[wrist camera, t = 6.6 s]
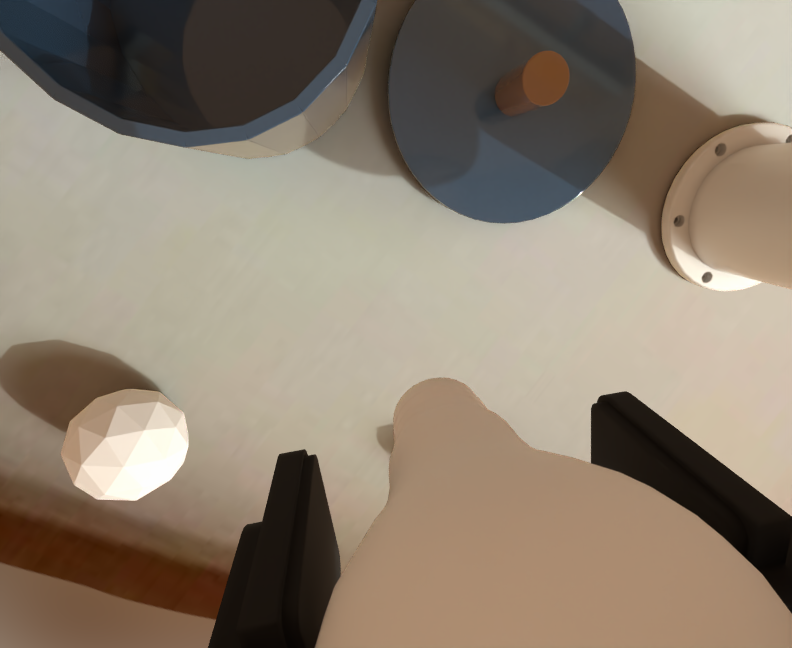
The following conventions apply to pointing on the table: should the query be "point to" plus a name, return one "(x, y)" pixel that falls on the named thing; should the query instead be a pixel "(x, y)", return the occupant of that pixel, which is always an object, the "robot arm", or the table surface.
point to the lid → (510, 101)
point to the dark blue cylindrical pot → (197, 66)
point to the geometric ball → (125, 444)
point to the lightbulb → (535, 551)
